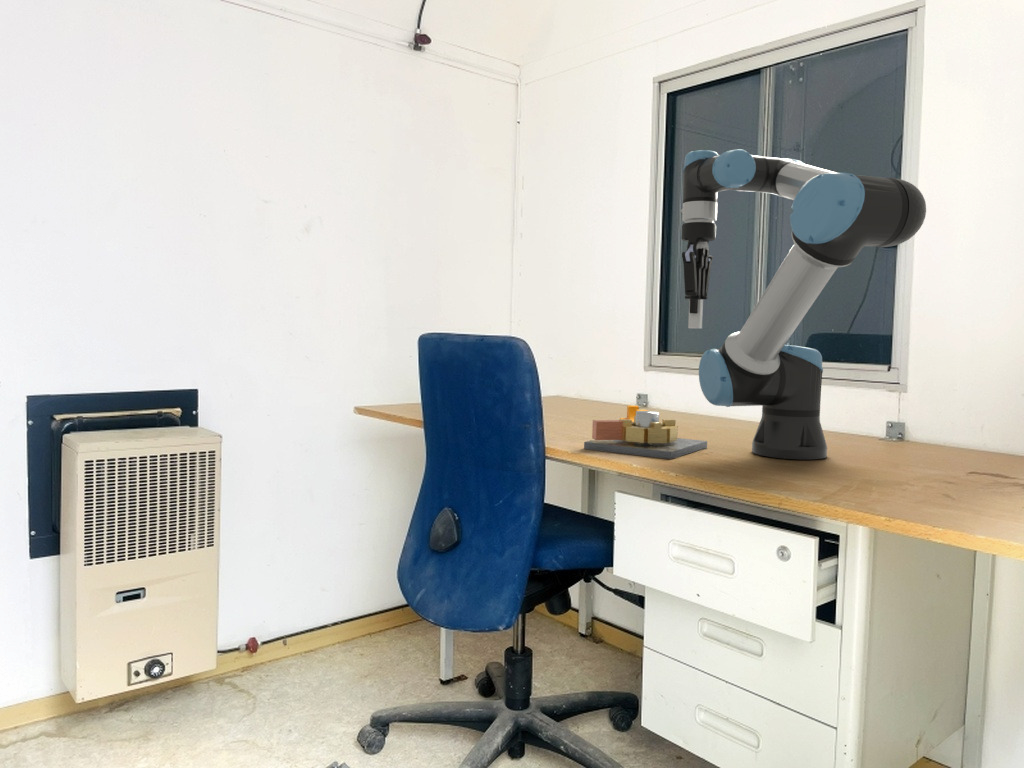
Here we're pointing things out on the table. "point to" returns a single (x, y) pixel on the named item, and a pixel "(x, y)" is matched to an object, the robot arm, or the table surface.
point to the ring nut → (635, 431)
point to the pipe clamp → (632, 412)
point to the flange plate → (648, 449)
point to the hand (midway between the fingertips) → (695, 328)
